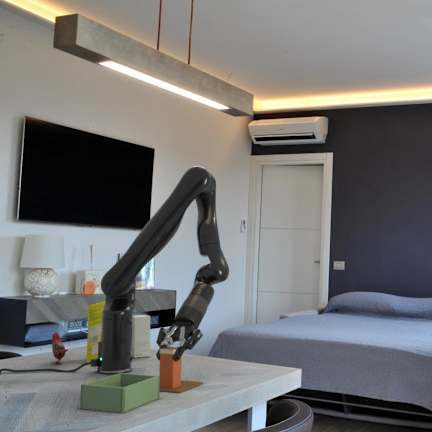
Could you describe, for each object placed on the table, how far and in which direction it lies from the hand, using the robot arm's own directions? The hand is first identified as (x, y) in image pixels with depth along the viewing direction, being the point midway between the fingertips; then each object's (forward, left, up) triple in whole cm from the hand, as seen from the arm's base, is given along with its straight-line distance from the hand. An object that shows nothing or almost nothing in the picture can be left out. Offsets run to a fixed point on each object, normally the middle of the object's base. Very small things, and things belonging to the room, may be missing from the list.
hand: (166, 359), depth 170 cm
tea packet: (0, +2, -8) cm, 9 cm away
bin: (-2, -16, -9) cm, 18 cm away
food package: (-50, +30, -9) cm, 59 cm away
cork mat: (0, +4, -9) cm, 10 cm away
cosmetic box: (-40, +41, -9) cm, 58 cm away
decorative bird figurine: (-55, +19, -9) cm, 59 cm away
